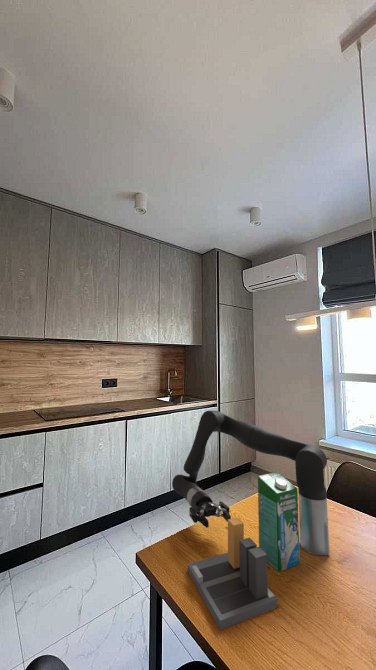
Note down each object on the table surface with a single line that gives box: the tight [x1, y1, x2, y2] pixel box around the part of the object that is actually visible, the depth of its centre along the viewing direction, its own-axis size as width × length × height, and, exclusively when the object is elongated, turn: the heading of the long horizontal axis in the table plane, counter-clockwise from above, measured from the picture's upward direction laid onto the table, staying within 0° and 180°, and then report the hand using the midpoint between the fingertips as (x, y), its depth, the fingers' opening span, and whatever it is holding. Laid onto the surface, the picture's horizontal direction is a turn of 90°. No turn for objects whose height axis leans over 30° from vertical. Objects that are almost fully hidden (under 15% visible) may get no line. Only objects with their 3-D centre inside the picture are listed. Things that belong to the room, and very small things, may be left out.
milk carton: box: [257, 471, 301, 573], centre depth 91 cm, size 9×9×25 cm
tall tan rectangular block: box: [227, 517, 245, 569], centre depth 85 cm, size 4×4×12 cm
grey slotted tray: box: [187, 537, 279, 631], centre depth 79 cm, size 17×20×12 cm
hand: (218, 522), depth 94 cm, fingers open, 8 cm apart
